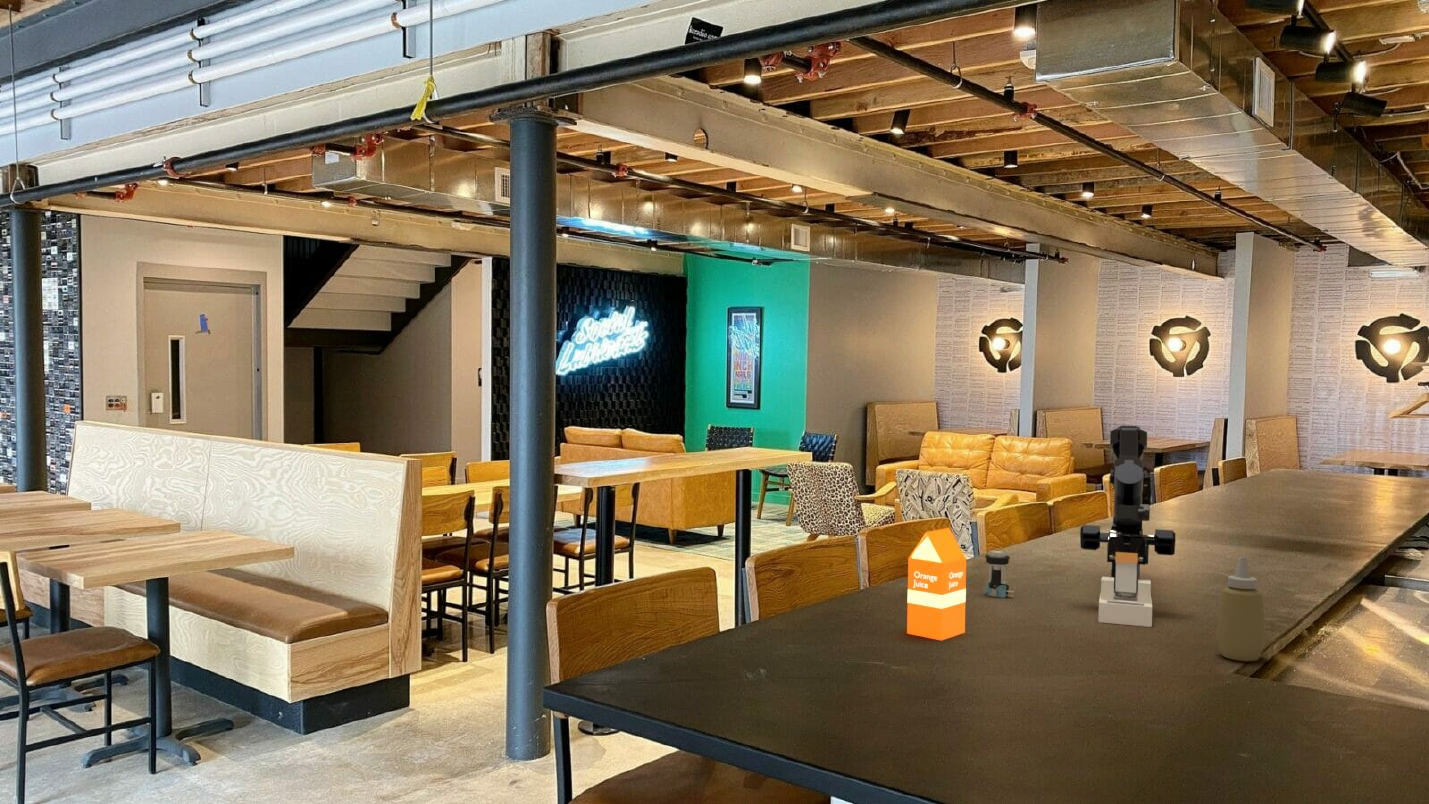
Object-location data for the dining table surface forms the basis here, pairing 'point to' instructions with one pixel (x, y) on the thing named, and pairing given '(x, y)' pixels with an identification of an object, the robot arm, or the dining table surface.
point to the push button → (997, 574)
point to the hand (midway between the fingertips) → (1126, 573)
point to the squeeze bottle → (1241, 617)
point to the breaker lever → (1126, 574)
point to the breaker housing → (1125, 605)
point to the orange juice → (936, 587)
